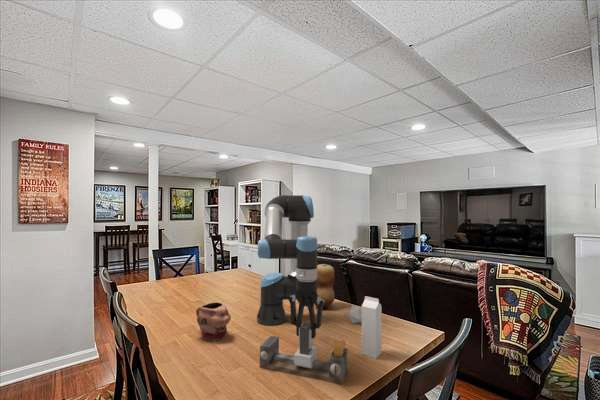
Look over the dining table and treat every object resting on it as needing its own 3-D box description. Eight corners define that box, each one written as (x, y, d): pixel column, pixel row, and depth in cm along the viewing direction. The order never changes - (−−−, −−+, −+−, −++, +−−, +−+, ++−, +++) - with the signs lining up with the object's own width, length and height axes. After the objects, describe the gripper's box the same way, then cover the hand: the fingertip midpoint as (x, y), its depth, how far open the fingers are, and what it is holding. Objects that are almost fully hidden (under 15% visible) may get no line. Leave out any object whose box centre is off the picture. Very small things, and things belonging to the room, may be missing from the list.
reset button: (331, 356, 96) (331, 344, 97) (334, 351, 100) (334, 339, 100) (343, 358, 95) (343, 346, 95) (345, 353, 99) (345, 341, 99)
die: (361, 328, 140) (370, 310, 143) (346, 318, 141) (355, 300, 145) (358, 328, 147) (366, 311, 151) (343, 318, 149) (352, 302, 152)
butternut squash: (328, 313, 159) (329, 267, 160) (307, 308, 165) (308, 265, 167) (338, 306, 171) (338, 264, 172) (318, 302, 177) (318, 262, 179)
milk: (367, 348, 117) (367, 294, 119) (381, 353, 114) (381, 297, 115) (361, 354, 113) (361, 297, 114) (376, 359, 109) (376, 300, 110)
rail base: (258, 367, 102) (259, 346, 102) (270, 355, 111) (270, 335, 111) (342, 385, 92) (342, 361, 92) (347, 370, 101) (347, 348, 101)
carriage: (293, 367, 99) (294, 328, 99) (301, 356, 106) (301, 320, 107) (310, 370, 97) (310, 330, 97) (316, 359, 104) (317, 322, 105)
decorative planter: (184, 337, 126) (185, 305, 127) (204, 327, 137) (204, 297, 138) (219, 346, 118) (220, 312, 118) (238, 335, 129) (238, 303, 129)
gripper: (282, 279, 102) (280, 346, 101) (325, 284, 97) (325, 355, 95) (289, 275, 109) (288, 338, 108) (330, 279, 104) (330, 345, 103)
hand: (305, 345), depth 102 cm, fingers closed on carriage, 3 cm apart
